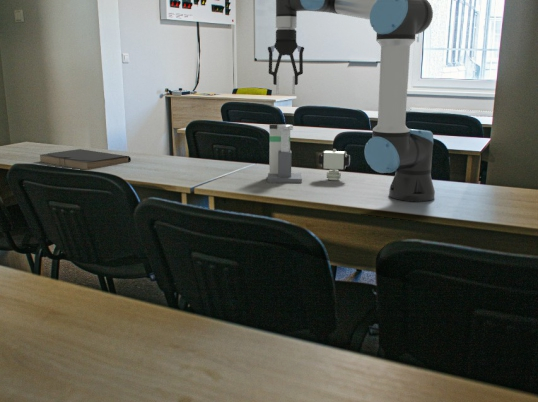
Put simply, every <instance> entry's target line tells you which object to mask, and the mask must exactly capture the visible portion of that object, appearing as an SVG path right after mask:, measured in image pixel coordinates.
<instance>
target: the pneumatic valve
mask: <svg viewBox="0 0 538 402" xmlns="http://www.w3.org/2000/svg"><path fill="white" fill-rule="evenodd" d="M317 161H318V166H320V167H321V169H325V170H326V169H328V172H326V179H327V180H329V181H334V182H335V181H339V179H341V177H342V176H341V175H342V173H341V172H340V170H346V167H350V163H351V155H350V154H348V153H347V151H346V150H344V151H341V150H340V151H339V150H338V151H337V149H336V148H333V150H323V151H322V152H321V153H319V154H318V160H317Z"/></svg>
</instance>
